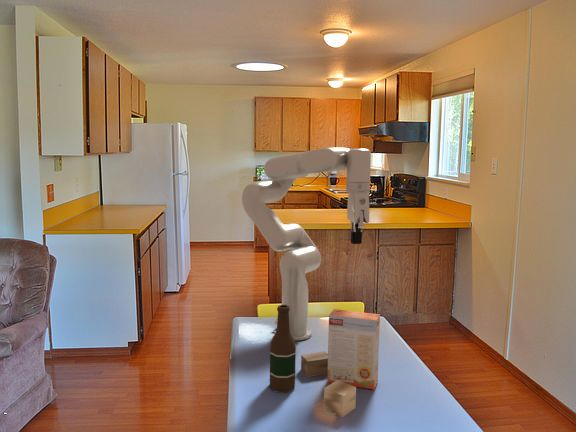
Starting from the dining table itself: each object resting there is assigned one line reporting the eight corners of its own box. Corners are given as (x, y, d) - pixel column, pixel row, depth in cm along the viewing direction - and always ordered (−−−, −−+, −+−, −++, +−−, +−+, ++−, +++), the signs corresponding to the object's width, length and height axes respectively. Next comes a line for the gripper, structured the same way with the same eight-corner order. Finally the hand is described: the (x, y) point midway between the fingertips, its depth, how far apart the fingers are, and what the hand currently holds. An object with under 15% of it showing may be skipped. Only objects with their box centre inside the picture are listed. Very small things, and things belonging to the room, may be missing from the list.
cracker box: (378, 381, 147) (380, 313, 144) (374, 391, 141) (377, 320, 138) (332, 373, 151) (333, 307, 148) (326, 382, 146) (328, 313, 143)
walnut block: (300, 370, 154) (301, 354, 153) (324, 366, 157) (324, 351, 156) (307, 377, 149) (307, 361, 148) (331, 373, 152) (331, 357, 151)
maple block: (323, 409, 131) (324, 387, 130) (336, 400, 136) (337, 379, 135) (342, 417, 127) (343, 395, 126) (355, 408, 132) (356, 387, 131)
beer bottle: (265, 382, 145) (265, 303, 142) (290, 378, 148) (291, 300, 144) (274, 395, 138) (274, 312, 134) (300, 390, 141) (301, 309, 137)
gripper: (376, 189, 153) (374, 248, 156) (362, 185, 168) (360, 238, 170) (353, 189, 152) (351, 248, 155) (340, 185, 166) (339, 239, 169)
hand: (356, 243), depth 162 cm, fingers closed
